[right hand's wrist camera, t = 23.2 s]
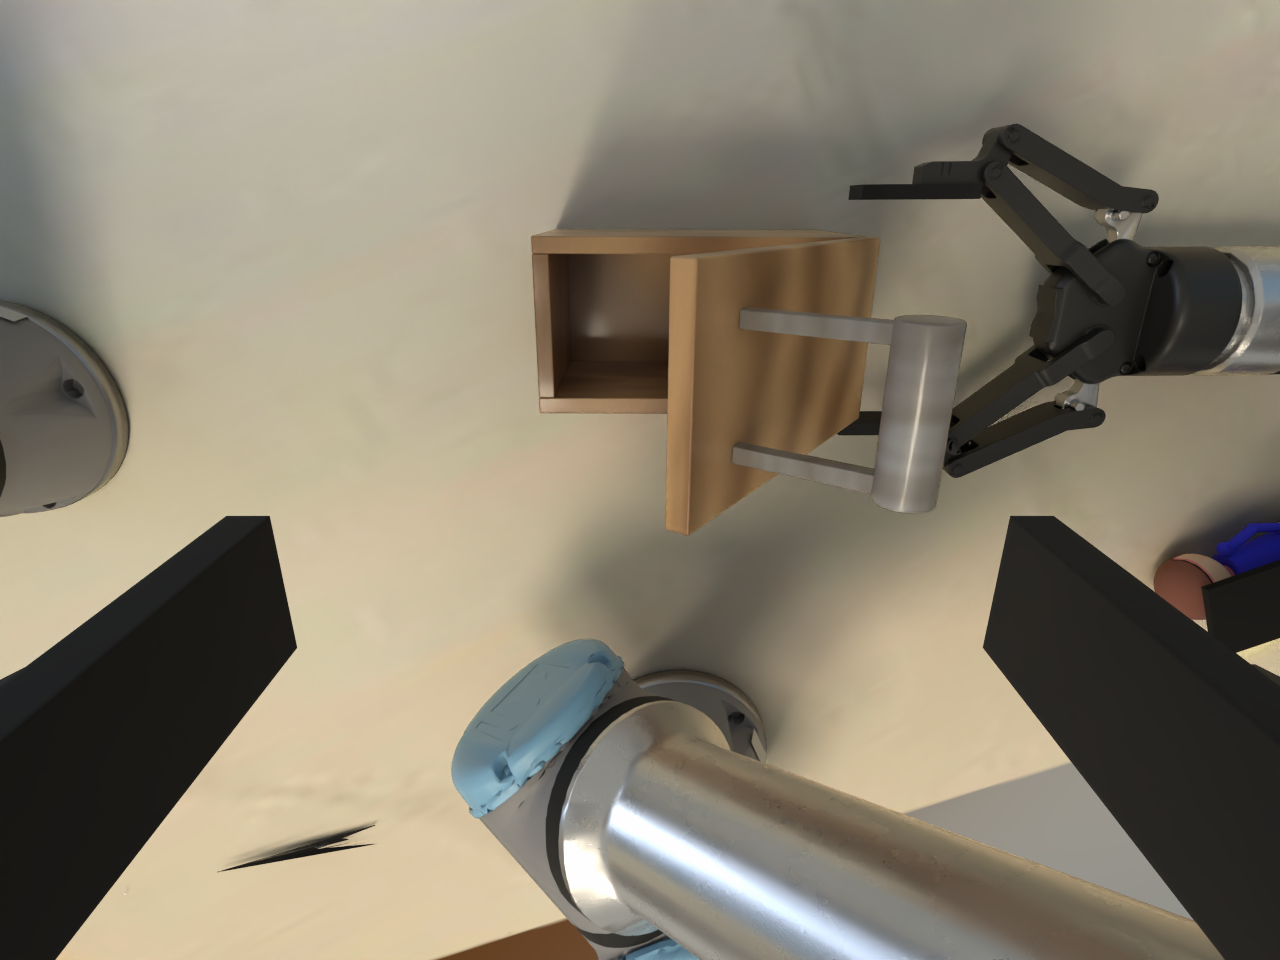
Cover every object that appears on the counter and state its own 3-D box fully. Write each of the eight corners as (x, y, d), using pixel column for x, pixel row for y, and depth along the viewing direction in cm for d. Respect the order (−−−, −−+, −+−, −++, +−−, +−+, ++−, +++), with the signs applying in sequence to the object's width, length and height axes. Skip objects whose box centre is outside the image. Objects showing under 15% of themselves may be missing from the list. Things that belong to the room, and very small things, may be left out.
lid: (664, 529, 26) (897, 598, 21) (669, 256, 22) (949, 270, 18) (841, 415, 40) (1004, 442, 36) (861, 237, 37) (1044, 242, 32)
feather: (132, 878, 70) (115, 887, 68) (384, 820, 66) (373, 827, 64) (135, 897, 70) (117, 906, 68) (388, 839, 66) (376, 847, 64)
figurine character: (1313, 473, 55) (1132, 549, 55) (1426, 508, 48) (1217, 595, 48) (1319, 544, 57) (1144, 617, 58) (1427, 588, 50) (1227, 670, 50)
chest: (560, 370, 51) (539, 413, 40) (554, 229, 47) (530, 235, 37) (805, 371, 51) (847, 414, 40) (818, 229, 47) (867, 236, 37)
